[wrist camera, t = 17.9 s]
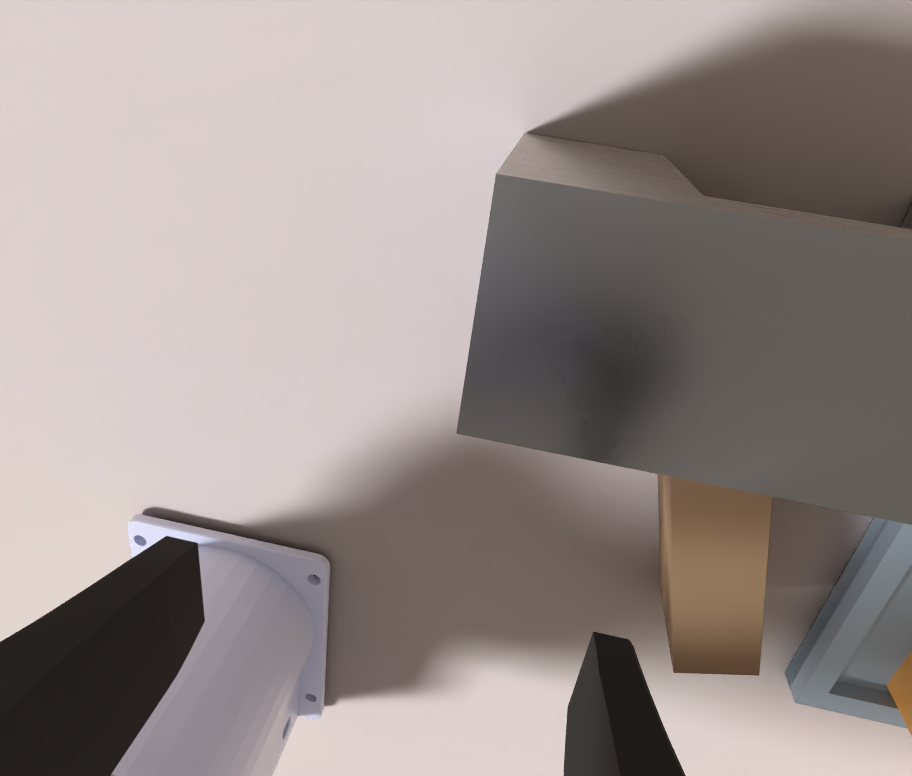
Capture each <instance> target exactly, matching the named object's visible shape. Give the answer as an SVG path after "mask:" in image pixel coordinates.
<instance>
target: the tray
mask: <svg viewBox="0 0 912 776" xmlns="http://www.w3.org/2000/svg"><path fill="white" fill-rule="evenodd" d="M911 651H912V525H910V524H905V523H900V522H895V521H890V520H885V519H880V518H875V517H874V519H873V521H872V523H871V524H870V526H869V528H868V529H867V531H866V533H865V535H864V536H863V538H862V540H861V542H860V543H859V545H858V547H857V549H856V550H855V552H854V554H853V556H852V557H851V559H850V561H849V562H848V564H847V566H846V568H845V569H844V571H843V573H842V575H841V576H840V578H839V580H838V582H837V583H836V585H835V587H834V588H833V590H832V592H831V594H830V595H829V597H828V599H827V601H826V602H825V604H824V606H823V608H822V609H821V611H820V613H819V614H818V616H817V618H816V620H815V621H814V623H813V625H812V627H811V628H810V630H809V632H808V634H807V635H806V637H805V639H804V641H803V642H802V644H801V646H800V647H799V649H798V651H797V653H796V654H795V656H794V658H793V660H792V661H791V663H790V665H789V667H788V668H787V670H786V672H785V675H786V678H787V681H788V684H789V687H790V690H791V693H792V695H793V698H794V701H795V703H799V704H803V705H807V706H812V707H816V708H821V709H825V710H829V711H834V712H838V713H842V714H847V715H851V716H856V717H860V718H864V719H869V720H873V721H878V722H882V723H886V724H891V725H895V726H899V727H904V728H908V727H907V725H906V723H905V721H904V719H903V717H902V715H901V713H900V711H899V709H898V707H897V705H896V703H895V701H894V699H893V697H892V695H891V693H890V691H889V689H888V687H887V684H888V682H889V681H890V680H891V678H892V677H893V676H894V674H895V673H896V671H897V670H898V669H899V667H900V666H901V665H902V663H903V662H904V660H905V659H906V658H907V656H908V655H909V654H910V652H911Z"/></svg>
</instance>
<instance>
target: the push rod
mask: <svg viewBox="0 0 912 776" xmlns="http://www.w3.org/2000/svg"><path fill="white" fill-rule="evenodd" d="M658 497H659V539H660V581H661V596H662V602H663V608H664V615H665V621H666V628H667V634H668V640H669V647H670V653H671V659H672V666H673V672H674V673H702V674H732V675H759V671H760V657H761V643H762V629H763V616H764V602H765V588H766V574H767V560H768V547H769V533H770V519H771V505H772V497H770V496H765V495H760V494H756V493H751V492H746V491H741V490H736V489H731V488H726V487H721V486H716V485H711V484H706V483H701V482H696V481H691V480H686V479H681V478H676V477H671V476H666V475H661V474H658Z"/></svg>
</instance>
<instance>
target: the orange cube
mask: <svg viewBox="0 0 912 776" xmlns="http://www.w3.org/2000/svg"><path fill="white" fill-rule="evenodd" d="M887 687H888V689H889V691H890V693H891V695H892V697H893V699H894V701H895V703H896V705H897V707H898V709H899V711H900V713H901V715H902V717H903V719H904V721H905V723H906V725H907V727H908V729H909V731H910V733H911V735H912V651H911V652H910V654H909V655H908V656H907V658H906V659H905V660H904V662H903V663H902V665H901V666H900V667H899V669H898V670H897V671H896V673H895V674H894V676H893V677H892V678H891V680H890V681H889V682H888V684H887Z"/></svg>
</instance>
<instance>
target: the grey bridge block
mask: <svg viewBox="0 0 912 776" xmlns="http://www.w3.org/2000/svg"><path fill="white" fill-rule="evenodd" d="M457 434H462V435H467V436H472V437H477V438H482V439H487V440H492V441H497V442H502V443H507V444H512V445H517V446H522V447H527V448H532V449H537V450H542V451H547V452H552V453H557V454H562V455H567V456H571V457H576V458H581V459H586V460H591V461H596V462H601V463H606V464H611V465H616V466H621V467H626V468H631V469H636V470H641V471H646V472H651V473H656V474H661V475H666V476H671V477H676V478H681V479H686V480H691V481H696V482H701V483H706V484H711V485H716V486H721V487H726V488H731V489H736V490H741V491H746V492H751V493H756V494H760V495H765V496H770V497H775V498H780V499H785V500H790V501H795V502H800V503H805V504H810V505H815V506H820V507H825V508H830V509H835V510H840V511H845V512H850V513H855V514H860V515H865V516H870V517H875V518H880V519H885V520H890V521H895V522H900V523H905V524H910V525H912V204H911V206H910V208H909V211H908V213H907V215H906V217H905V219H904V221H903V223H902V226H901V227H894V226H888V225H882V224H876V223H870V222H864V221H857V220H851V219H845V218H839V217H833V216H827V215H820V214H814V213H808V212H802V211H796V210H789V209H783V208H777V207H771V206H765V205H759V204H752V203H746V202H740V201H734V200H728V199H722V198H715V197H709V196H703V195H702V194H701V193H700V192H699V191H698V190H697V189H696V188H695V187H694V185H693V184H692V183H691V182H690V181H689V180H688V179H687V178H686V177H685V176H684V175H683V174H682V173H681V172H680V171H679V170H678V169H677V168H676V167H675V166H674V164H673V163H672V162H671V161H670V160H669V159H668V158H667V157H666V156H665V155H663V154H656V153H650V152H644V151H637V150H631V149H625V148H618V147H612V146H605V145H599V144H593V143H586V142H580V141H574V140H567V139H561V138H555V137H548V136H542V135H536V134H529V133H524V135H523V136H522V138H521V139H520V140H519V142H518V143H517V145H516V146H515V148H514V149H513V150H512V152H511V153H510V155H509V156H508V158H507V159H506V160H505V162H504V163H503V165H502V166H501V168H500V169H499V170H498V172H497V173H496V178H495V185H494V192H493V198H492V205H491V211H490V218H489V224H488V231H487V237H486V244H485V250H484V257H483V263H482V270H481V277H480V283H479V290H478V296H477V303H476V309H475V316H474V322H473V329H472V335H471V342H470V348H469V355H468V362H467V368H466V375H465V381H464V388H463V394H462V401H461V407H460V414H459V420H458V427H457Z"/></svg>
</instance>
